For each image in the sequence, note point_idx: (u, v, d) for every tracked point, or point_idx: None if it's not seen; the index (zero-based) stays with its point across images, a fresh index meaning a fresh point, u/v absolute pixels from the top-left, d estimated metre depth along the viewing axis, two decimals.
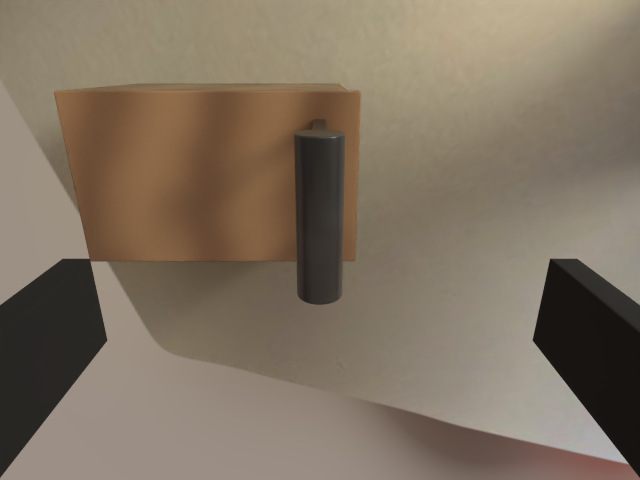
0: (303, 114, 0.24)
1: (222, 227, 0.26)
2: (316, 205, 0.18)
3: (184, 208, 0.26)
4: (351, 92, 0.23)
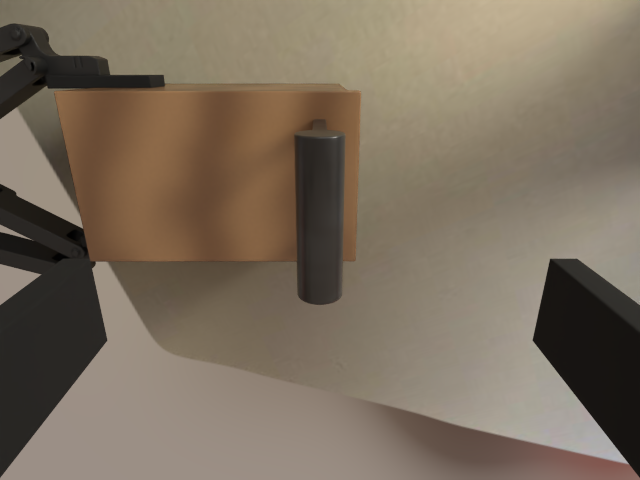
0: (303, 114, 0.24)
1: (222, 227, 0.26)
2: (316, 205, 0.18)
3: (184, 208, 0.26)
4: (351, 92, 0.23)
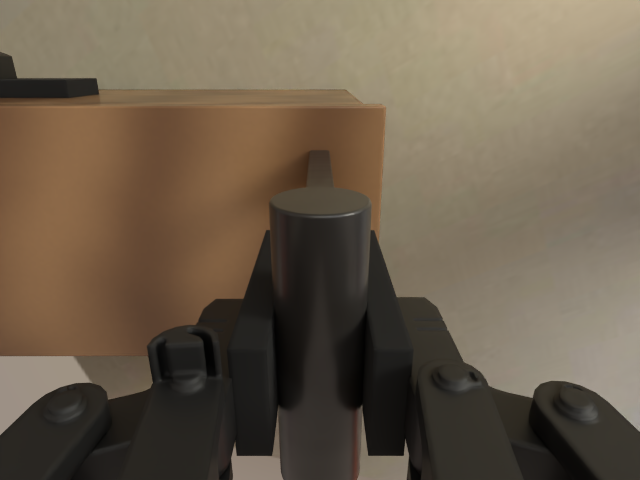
0: (294, 142, 0.15)
1: (173, 309, 0.17)
2: (314, 342, 0.09)
3: (113, 282, 0.17)
4: (370, 108, 0.15)
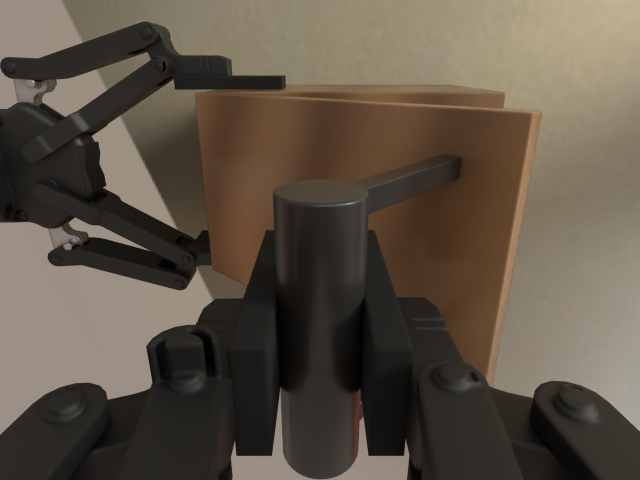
0: (428, 144, 0.15)
1: None
2: (286, 317, 0.10)
3: None
4: (514, 114, 0.13)
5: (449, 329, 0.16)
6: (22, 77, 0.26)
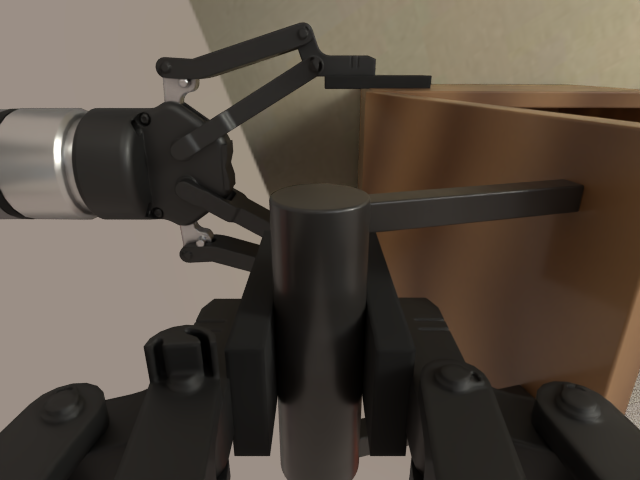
0: (549, 164, 0.11)
1: (430, 296, 0.18)
2: (274, 314, 0.10)
3: (409, 250, 0.20)
4: None
5: None
6: (176, 77, 0.27)
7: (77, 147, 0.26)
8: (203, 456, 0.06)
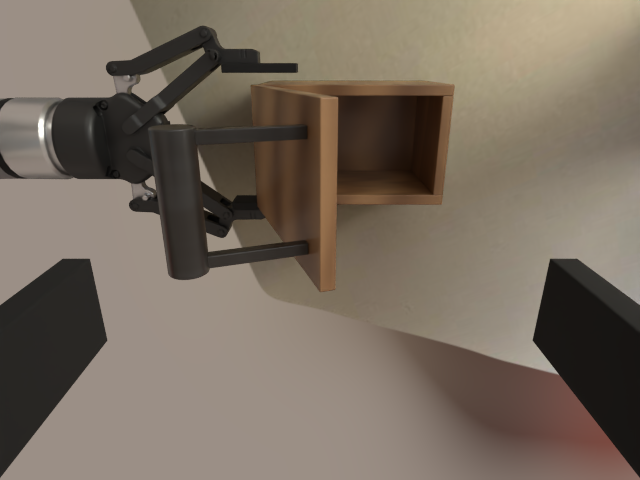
0: (300, 117, 0.23)
1: (280, 209, 0.30)
2: (156, 186, 0.21)
3: (272, 185, 0.31)
4: (316, 98, 0.20)
5: (310, 243, 0.24)
6: (121, 74, 0.38)
7: (55, 124, 0.37)
8: None
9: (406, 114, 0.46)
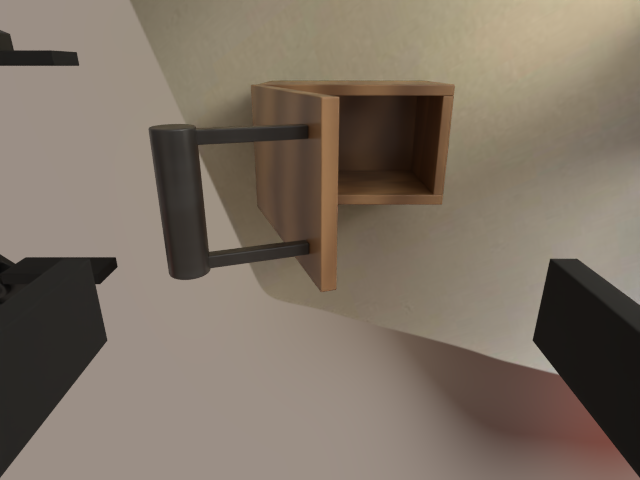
0: (301, 117, 0.23)
1: (281, 209, 0.30)
2: None
3: (273, 185, 0.31)
4: (317, 98, 0.20)
5: (311, 243, 0.24)
6: None
7: None
8: None
9: (406, 114, 0.46)
